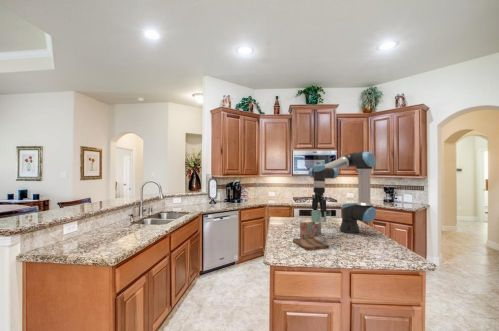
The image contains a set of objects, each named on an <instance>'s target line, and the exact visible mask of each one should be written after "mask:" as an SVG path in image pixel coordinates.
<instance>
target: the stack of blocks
mask: <svg viewBox="0 0 499 331" xmlns="http://www.w3.org/2000/svg"><path fill="white" fill-rule="evenodd" d="M299 231H300V232H299V239H300V238H311V237H313V238H314V237H316V235H317V236H319V235H321V234H322V222H314V221H311V218H310V219H309V218H307V219H305V220H301V221H300V222H299Z"/></svg>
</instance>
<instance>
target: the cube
mask: <svg viewBox="0 0 499 331" xmlns="http://www.w3.org/2000/svg"><path fill="white" fill-rule="evenodd" d="M320 211H321V210H320V209H318V210H313V209H312V210H311V218H310V220H311V221H314V222H320ZM323 223H327V211H326V212H324V222H323Z"/></svg>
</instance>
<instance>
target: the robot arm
mask: <svg viewBox="0 0 499 331" xmlns="http://www.w3.org/2000/svg"><path fill="white" fill-rule="evenodd" d="M376 164H377V158H376V156H375V155H374V153H373V152H371V151H360V152H357V151H356V152H351V153H347V154H345V155H343V156H341V157H339V158H338V159H335V160H333V161H330V162H328V163H324V164H314V165H313V167H311V168H309V169H308V176H309V177H310V178H313V191H312V192H313V193H314V194H312V195H311V197H312V198H311V199H312V200H311V209H312V210H321V211H320V222H321V223H325V222H324V212H326V213H327V211H328V210H327V196H324V194H325V192H326V188H325V187H326V179H332V180H333V179H336V178H337V177H338V176H339V171H338V170H340V169H346V168H351V167H353V168H354V167H355V169H356V171H357V172H358V176H357V177H358V179H357V180H358V182H357V186H358V187H357V188H358V189H357V192H358V195H357V196H358V200H357V202H351V203H350V202H349V203H348V202H347V203H346V202H345V203H342V205H341V224H340V227H339V232H342V233H345V234H359V233H360V228H359V224H358V221H360V222H363V223H372V222H373V221H374V220H375V218H376V217H377V210H376V208H375V207H373V203H372V202H371V172H372V170H373V167H375V166H376ZM318 206H319V207H318ZM318 208H319V209H318Z"/></svg>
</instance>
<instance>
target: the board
mask: <svg viewBox="0 0 499 331" xmlns="http://www.w3.org/2000/svg"><path fill="white" fill-rule="evenodd" d="M292 242H293V243H294V244H296V245H297V246H299V248H300V247H301V248H302V249H304V250H306V251H307V250H308V251H316V250H317V249H318V250H326V249H327V248H328V249H330V245H329V244H326V243H324V242H323V241H320V240H318V239H316V238H314V237H311V238H300V237H299V238H293V239H292Z"/></svg>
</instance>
